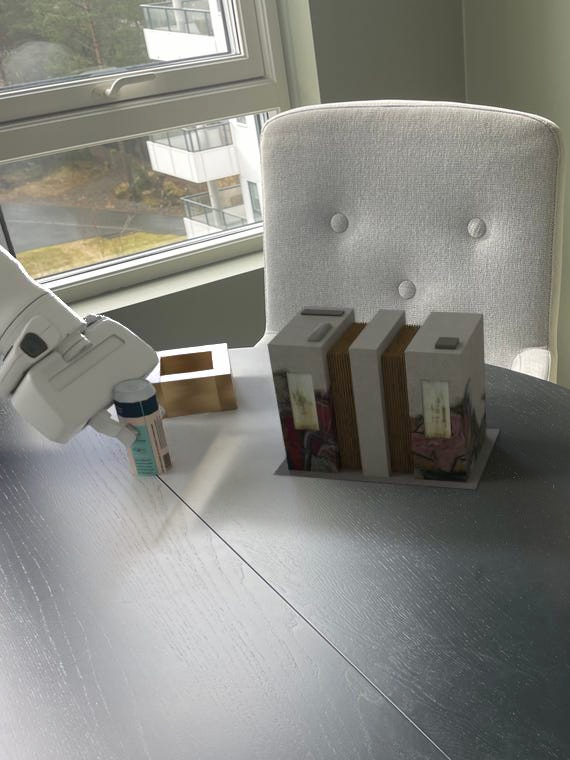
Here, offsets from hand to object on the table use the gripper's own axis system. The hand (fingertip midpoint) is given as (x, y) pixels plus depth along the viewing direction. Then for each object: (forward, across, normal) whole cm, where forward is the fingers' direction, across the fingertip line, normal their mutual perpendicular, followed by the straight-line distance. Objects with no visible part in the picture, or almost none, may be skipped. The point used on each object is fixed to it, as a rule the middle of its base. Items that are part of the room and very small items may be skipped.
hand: (147, 429), depth 112 cm
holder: (0, -23, -10) cm, 25 cm away
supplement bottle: (+4, 0, -5) cm, 7 cm away
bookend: (+22, -12, +13) cm, 29 cm away
